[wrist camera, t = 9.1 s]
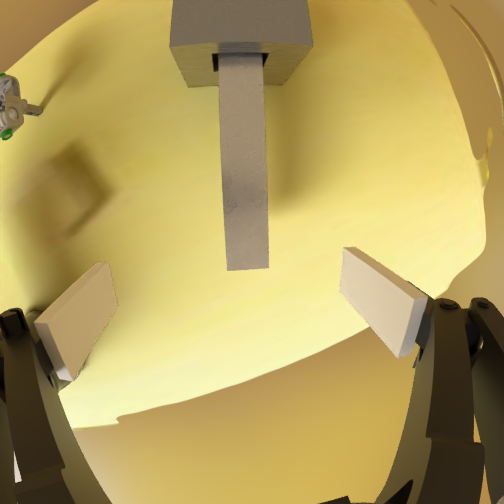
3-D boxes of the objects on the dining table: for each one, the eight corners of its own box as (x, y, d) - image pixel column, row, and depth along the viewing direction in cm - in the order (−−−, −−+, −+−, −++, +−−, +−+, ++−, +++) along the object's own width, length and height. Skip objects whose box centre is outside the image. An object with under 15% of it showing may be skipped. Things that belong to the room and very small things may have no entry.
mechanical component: (41, 81, 25) (3, 68, 15) (51, 133, 28) (9, 129, 18) (28, 92, 25) (-10, 82, 15) (38, 144, 28) (-4, 143, 18)
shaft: (263, 255, 30) (268, 268, 26) (226, 257, 30) (227, 270, 26) (255, 30, 22) (259, 13, 18) (218, 31, 22) (218, 14, 18)
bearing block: (282, 85, 30) (313, 46, 17) (188, 87, 29) (169, 47, 16) (279, 36, 27) (304, -15, 15) (189, 37, 26) (175, -15, 14)
